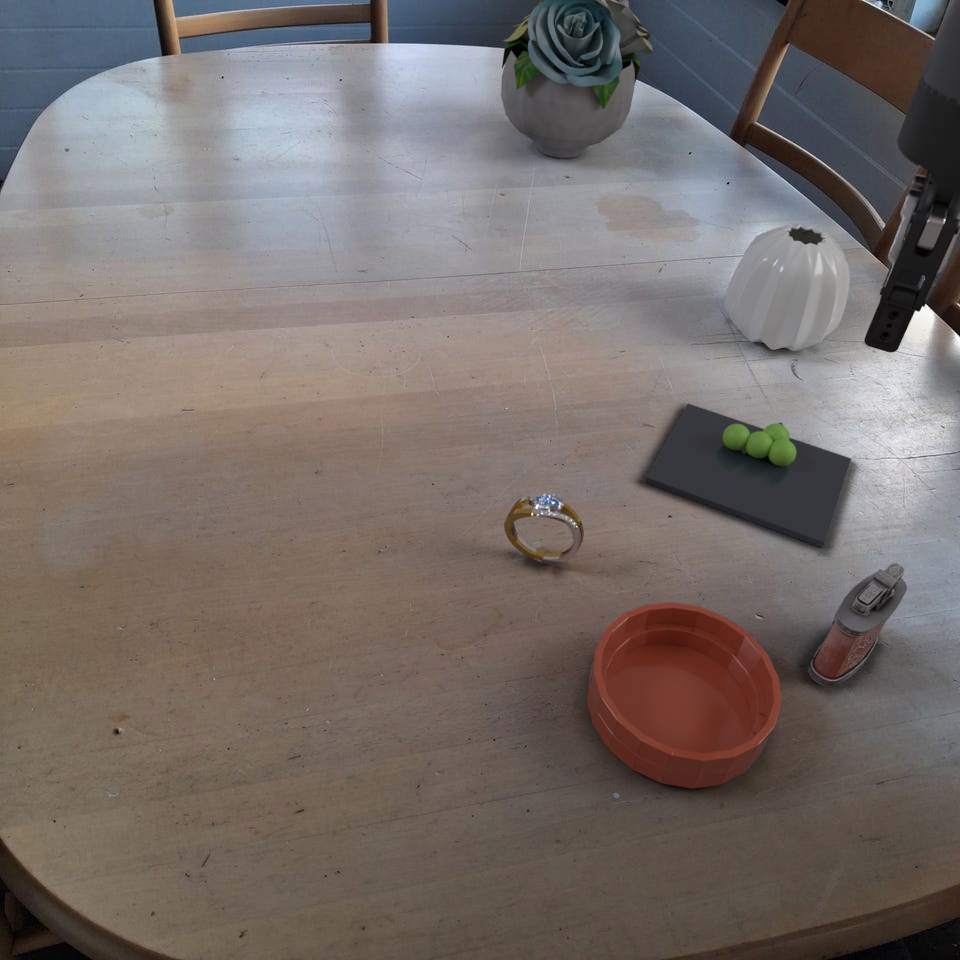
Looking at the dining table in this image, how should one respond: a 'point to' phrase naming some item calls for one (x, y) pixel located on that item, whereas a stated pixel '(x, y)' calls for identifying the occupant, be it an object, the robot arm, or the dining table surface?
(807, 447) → the slate board
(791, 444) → the grapes
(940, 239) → the robot arm
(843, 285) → the vase
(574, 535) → the ring
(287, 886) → the dining table surface
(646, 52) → the flower arrangement
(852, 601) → the lighter
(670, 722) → the bowl
